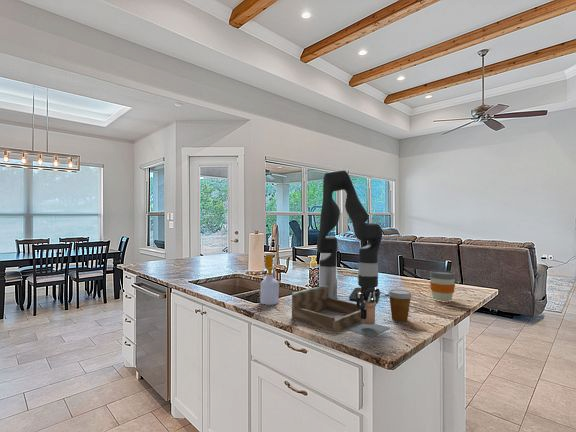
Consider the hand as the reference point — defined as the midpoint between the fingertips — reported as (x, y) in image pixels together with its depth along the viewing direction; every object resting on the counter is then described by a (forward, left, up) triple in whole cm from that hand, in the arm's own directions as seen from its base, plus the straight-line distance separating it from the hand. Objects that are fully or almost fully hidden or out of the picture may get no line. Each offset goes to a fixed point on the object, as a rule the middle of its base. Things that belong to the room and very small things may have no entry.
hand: (367, 316), depth 125 cm
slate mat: (0, 0, -5) cm, 5 cm away
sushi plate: (-50, -21, -5) cm, 55 cm away
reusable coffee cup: (-68, +6, -5) cm, 69 cm away
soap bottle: (+2, -54, -5) cm, 54 cm away
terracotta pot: (0, 0, -2) cm, 2 cm away
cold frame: (0, -18, -5) cm, 19 cm away
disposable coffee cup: (-20, +4, -5) cm, 21 cm away
